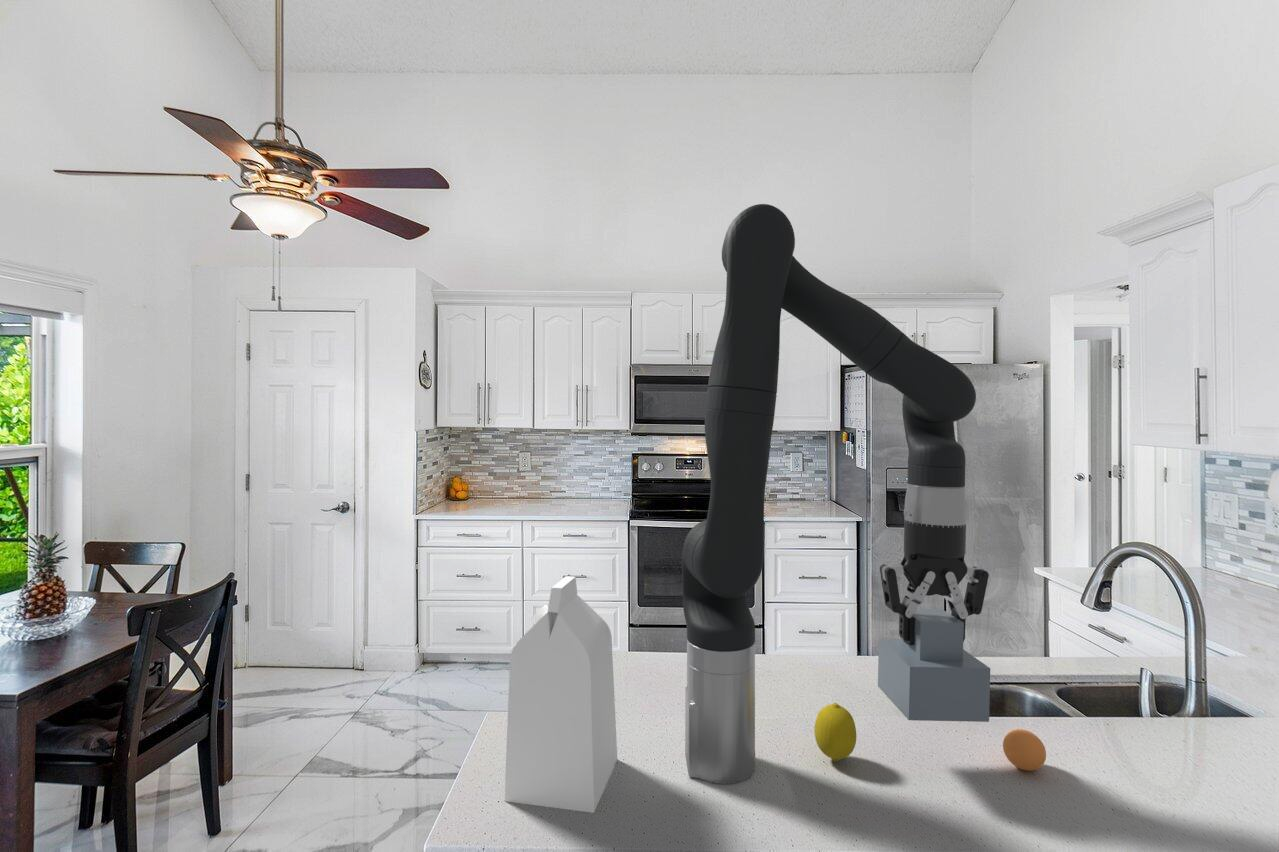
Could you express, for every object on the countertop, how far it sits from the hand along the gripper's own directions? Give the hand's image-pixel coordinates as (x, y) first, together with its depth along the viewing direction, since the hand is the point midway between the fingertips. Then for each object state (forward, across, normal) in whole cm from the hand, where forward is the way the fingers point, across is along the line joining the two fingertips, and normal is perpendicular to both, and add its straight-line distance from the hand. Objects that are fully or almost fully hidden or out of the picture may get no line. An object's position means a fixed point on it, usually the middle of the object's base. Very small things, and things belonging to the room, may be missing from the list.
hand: (931, 643), depth 84 cm
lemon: (+17, -12, +2) cm, 21 cm away
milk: (+18, -49, -2) cm, 52 cm away
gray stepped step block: (+8, 0, 0) cm, 8 cm away
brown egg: (+14, +13, 0) cm, 19 cm away
